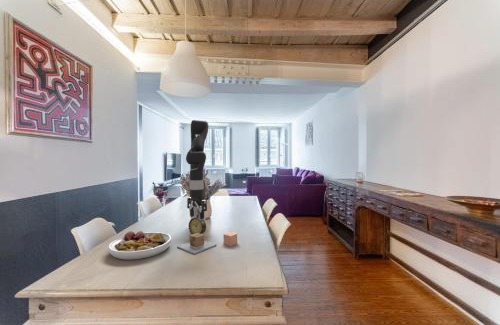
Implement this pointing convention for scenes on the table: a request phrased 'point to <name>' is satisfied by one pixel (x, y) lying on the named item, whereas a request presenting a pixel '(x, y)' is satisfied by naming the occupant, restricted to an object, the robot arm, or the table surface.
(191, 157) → the robot arm
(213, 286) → the table surface
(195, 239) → the walnut block
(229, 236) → the terracotta block
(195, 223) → the alarm clock
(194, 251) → the grey square plate
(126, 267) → the table surface
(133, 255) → the bowl
